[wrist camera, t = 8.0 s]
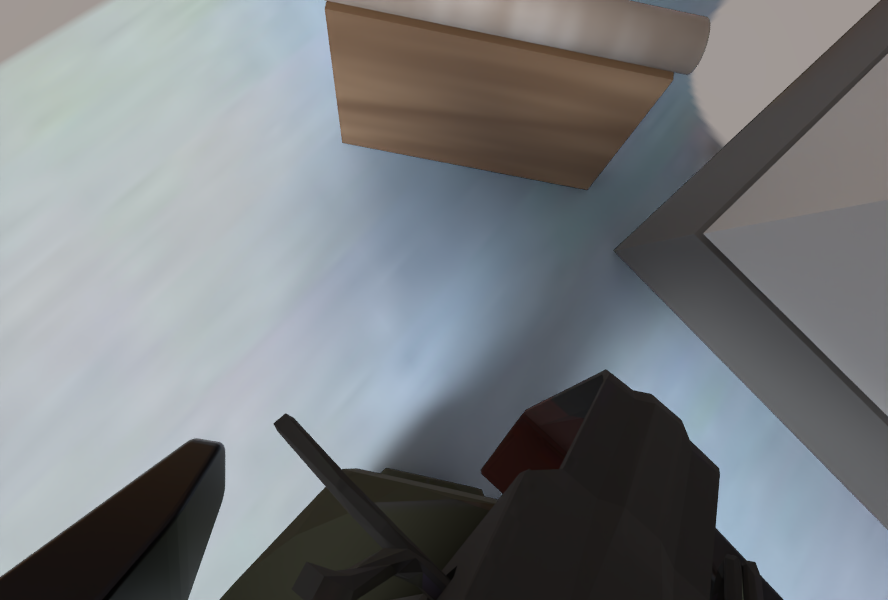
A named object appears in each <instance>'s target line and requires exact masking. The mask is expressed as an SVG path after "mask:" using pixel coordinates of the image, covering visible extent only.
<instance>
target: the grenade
mask: <svg viewBox="0 0 888 600" xmlns="http://www.w3.org/2000/svg"><path fill="white" fill-rule="evenodd" d="M274 425H275V427H276V429H277V431H278V432H279V433H280V435H281V436H282V437H283V438H284V439H285V440H286V441H287V443H288V444H289V445H290V446H291V447H292V448H293V449H294V451H295V452H296V453H297V454H298V455H299V456H300V458H301V459H302V460H303V461H304V462H305V463H306V464H307V466H308V467H309V468H310V469H311V470H312V471H313V472H314V474H315V475H316V476H317V477H318V478H319V479H320V480H321V482H322V483H323V484H324V485H325V486H326V487H325V488H324V489H323V490H322V491H321V492H320V493H319V494H318V495H317V496H316V498H315V499H314V500H313V501H312V502H311V503H310V504H309V505H308V506H307V507H306V508H305V509H304V510H303V511H302V512H301V513H300V514H299V515H298V516H297V518H296V519H295V520H294V521H293V522H292V523H291V524H290V525H289V526H288V527H287V528H286V529H285V530H284V531H283V532H282V533H281V534H280V535H279V537H278V538H277V539H276V540H275V541H274V542H273V543H272V544H271V545H270V546H269V547H268V548H267V549H266V550H265V551H264V552H263V553H262V554H261V556H260V557H259V558H258V559H257V560H256V561H255V562H254V563H253V564H252V565H251V566H250V567H249V568H248V569H247V570H246V571H245V572H244V573H243V574H242V576H241V577H240V578H239V579H238V580H237V581H236V582H235V583H234V584H233V585H232V586H231V587H230V589H229V590H228V591H227V592H226V593H225V594H224V595H223V596H222V597H221V599H220V600H763V590H762V580H761V576H760V574H759V571H758V568H757V565H756V563H755V562H752V561H746V560H744V561H743V562H742V563H741V562H740V561H739V559H738V557H736V556H734V555H730V554H726V556H725V558H724V559H723V561H722V563H721V564H720V566H719V568H718V569H717V574H716V578H715V582H714V586H713V591H712V595H711V599H710V588H711V576H712V564H713V552H714V539H715V527H716V515H717V502H718V490H719V478H720V472H719V468H718V467H717V466H716V465H715V464H714V463H713V462H712V461H711V460H710V459H709V458H708V457H707V456H706V455H705V454H704V453H703V452H702V451H701V450H700V449H699V448H697V447H696V446H695V445H694V444H693V443H692V442H691V441H690V440H689V437H688V435H687V432H686V430H685V427H684V425H683V422H682V420H681V419H680V418H678V417H677V416H676V415H675V414H674V413H673V412H671V411H670V410H669V409H668V408H667V407H666V406H665V405H663V404H662V403H661V402H660V401H659V400H658V399H657V398H655V397H654V396H653V395H652V394H648V393H643V392H638V391H633V390H632V389H630V388H629V387H628V386H627V385H625V384H624V383H623V382H622V381H620V380H619V379H618V378H616V377H615V376H614V375H613V374H611V373H610V372H609V371H608V370H604V371H602V372H600V373H598V374H596V375H594V376H592V377H590V378H588V379H586V380H584V381H582V382H580V383H578V384H576V385H574V386H572V387H570V388H568V389H566V390H564V391H562V392H560V393H558V394H556V395H554V396H552V397H550V398H548V399H546V400H544V401H542V402H540V403H538V404H536V405H534V406H532V407H531V408H529V409H527V410H525V411H524V413H523V414H522V415H521V416H520V418H519V419H518V420H517V422H516V423H515V424H514V426H513V427H512V429H511V430H510V431H509V433H508V434H507V435H506V437H505V438H504V439H503V441H502V442H501V443H500V445H499V446H498V447H497V449H496V450H495V452H494V453H493V454H492V456H491V457H490V458H489V460H488V461H487V462H486V464H485V465H484V466H483V468H482V469H481V474H482V475H483V476H484V477H485V478H487V479H488V480H489V481H490V482H491V483H492V484H493V485H494V486H495V487H496V488H497V489H498V490H499V491H501V492H502V493H503V495H502V496H501V497H500V498H499V500H498V499H493V498H489V497H485V496H484V494H483V492H482V489H478V488H475V487H470V486H466V485H462V484H457V483H453V482H449V481H444V480H440V479H435V478H431V477H426V476H422V475H417V474H413V473H408V472H403V471H399V470H394V469H390V468H385V469H384V470H383V471H382V473H381V474H380V473H375V472H371V471H366V470H361V469H342V470H341V469H340V467H339V466H338V465H337V464H336V463H335V462H334V461H333V460H332V459H331V458H330V457H329V456H328V454H327V453H326V452H325V451H324V450H323V449H322V448H321V447H320V446H319V445H318V444H317V443H316V442H315V440H314V439H313V438H312V437H311V436H310V435H309V434H308V433H307V432H306V431H305V430H304V429H303V427H302V426H301V425H300V424H299V423H298V422H297V421H296V420H295V419H294V418H293V417H291V416H289V415H288V414H286V413H285V414H284V415H283V416H282V417H281V418H280V419H278V420H277V421H276V422H275V423H274Z"/></svg>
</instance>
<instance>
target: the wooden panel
mask: <svg viewBox="0 0 888 600" xmlns="http://www.w3.org/2000/svg"><path fill="white" fill-rule="evenodd" d="M326 1H327V2H326V6H325V14H326V22H327V29H328V37H329V45H330V52H331V60H332V68H333V75H334V83H335V90H336V98H337V106H338V113H339V121H340V128H341V136H342V143H347V144H352V145H357V146H362V147H367V148H372V149H378V150H383V151H388V152H393V153H398V154H404V155H409V156H414V157H419V158H424V159H429V160H435V161H440V162H445V163H450V164H455V165H461V166H466V167H471V168H476V169H481V170H487V171H492V172H497V173H502V174H507V175H512V176H518V177H523V178H528V179H533V180H538V181H544V182H549V183H554V184H559V185H564V186H569V187H575V188H580V189H585V190H588V189H589V187H590V186H591V185H592V183H593V182H594V181H595V180H596V178H597V177H598V176H599V174H600V173H601V172H602V171H603V169H604V168H605V167H606V166H607V164H608V163H609V162H610V160H611V159H612V158H613V157H614V155H615V154H616V153H617V151H618V150H619V149H620V148H621V146H622V145H623V144H624V142H625V141H626V140H627V139H628V137H629V136H630V135H631V134H632V132H633V131H634V130H635V128H636V127H637V126H638V125H639V123H640V122H641V121H642V119H643V118H644V117H645V116H646V114H647V113H648V112H649V110H650V109H651V108H652V107H653V105H654V104H655V103H656V101H657V100H658V99H659V98H660V96H661V95H662V94H663V93H664V91H665V90H666V89H667V87H668V86H669V85H670V84H671V82H672V81H673V76H674V72H676V73H681V74H686V75H688V74H690V73H692V72H693V71H694V69H695V68H696V67H697V65H698V64H699V62H700V60H701V58H702V56H703V53H704V51H705V48H706V45H707V41H708V38H709V33H710V20H709V18H708V17H705V16H700V15H696V14H691V13H686V12H681V11H677V10H672V9H667V8H663V7H658V6H653V5H648V4H644V3H639V2H634V1H629V0H326Z"/></svg>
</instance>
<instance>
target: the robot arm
mask: <svg viewBox="0 0 888 600" xmlns="http://www.w3.org/2000/svg"><path fill="white" fill-rule="evenodd" d="M224 491H225V448H224V445H223V444H222V443H220V442H216V441H210V440H204V439H192V440H189V441H188V442H186V443H185V444H183V445H182V446H181V447H179V448H178V449H177V450H175V451H174V452H172V453H171V454H170V455H168V456H167V457H165V458H164V459H163V460H161V461H160V462H159V463H157V464H156V465H154V466H153V467H152V468H150V469H149V470H148V471H146V472H145V473H143V474H142V475H141V476H139V477H138V478H136V479H135V480H134V481H132V482H131V483H130V484H128V485H127V486H125V487H124V488H123V489H121V490H120V491H119V492H117V493H116V494H114V495H113V496H112V497H110V498H109V499H107V500H106V501H105V502H103V503H102V504H101V505H99V506H98V507H96V508H95V509H94V510H92V511H91V512H89V513H88V514H87V515H85V516H84V517H83V518H81V519H80V520H78V521H77V522H76V523H74V524H73V525H72V526H70V527H69V528H67V529H66V530H65V531H63V532H62V533H60V534H59V535H58V536H56V537H55V538H54V539H52V540H51V541H49V542H48V543H47V544H45V545H44V546H43V547H41V548H40V549H38V550H37V551H36V552H34V553H33V554H31V555H30V556H29V557H27V558H26V559H25V560H23V561H22V562H20V563H19V564H18V565H16V566H15V567H14V568H12V569H11V570H9V571H8V572H7V573H5V574H4V575H2V576H1V577H0V600H188V598H189V595H190V592H191V589H192V586H193V584H194V581H195V578H196V575H197V572H198V569H199V566H200V563H201V561H202V558H203V555H204V552H205V549H206V546H207V543H208V541H209V538H210V535H211V532H212V529H213V526H214V523H215V521H216V518H217V515H218V512H219V509H220V506H221V503H222V500H223V496H224ZM726 554H730V555H734V556H736V557H738V559H739V561H740V562H741V563H742V562H743V561H744V560H746V559H745V558H744V557H743V556H742V555H741V554H740V553H739V552H738V551H737V550H736V549H735V548H734V547H733V546H732V545H731V544H730V542H729V541H728V540H727V539H726V538H725V537H724V536H723V535H722V534H721V533H720V532H719V531H718V530H717V529H716V528H715V539H714V552H713V564H712V576H711V588H710V599H711V595H712V591H713V586H714V582H715V578H716V574H717V569H718V568H719V566H720V564H721V563H722V561H723V559H724V558H725V556H726ZM746 561H747V560H746ZM760 576H761V575H760ZM761 580H762V590H763V600H783V599H782V598H781V597H780V595H779V594H778V593H777V592H776V591H775V590H774V589H773V588H772V587H771V586H770V585H769V584H768V583H767V582H766V581H765V580H764V578H763V577H762V576H761Z"/></svg>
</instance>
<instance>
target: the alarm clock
mask: <svg viewBox="0 0 888 600" xmlns="http://www.w3.org/2000/svg"><path fill="white" fill-rule="evenodd" d="M613 251H614V252H615V253H616V254H617V255H618V256H619V257H620V258H621V259H622V260H623V261H624V262H625V263H626V264H627V265H628V266H629V267H630V268H631V269H632V270H633V271H634V272H635V273H636V274H637V275H638V276H639V277H640V278H641V279H642V280H643V281H644V282H645V283H646V284H647V285H648V286H649V287H650V288H651V290H652V291H653V292H654V293H655V294H656V295H657V296H658V297H659V298H660V299H661V300H662V301H663V302H664V303H665V304H666V305H667V306H668V307H669V308H670V309H671V310H672V311H673V312H674V313H675V314H676V315H677V316H678V317H679V318H680V319H681V320H682V321H683V322H684V323H685V324H686V325H687V326H688V327H689V328H690V329H691V330H692V331H693V332H694V333H695V334H696V335H697V336H698V337H699V338H700V339H701V340H702V341H703V342H704V343H705V344H706V345H707V346H708V347H709V349H710V350H711V351H712V352H713V353H714V354H715V355H716V356H717V357H718V358H719V359H720V360H721V361H722V362H723V363H724V364H725V365H726V366H727V367H728V368H729V369H730V370H731V371H732V372H733V373H734V374H735V375H736V376H737V377H738V378H739V379H740V380H741V381H742V382H743V383H744V384H745V385H746V386H747V387H748V388H749V389H750V390H751V391H752V392H753V393H754V394H755V395H756V396H757V397H758V398H759V399H760V400H761V401H762V402H763V403H764V404H765V405H766V406H767V408H768V409H769V410H770V411H771V412H772V413H773V414H774V415H775V416H776V417H777V418H778V419H779V420H780V421H781V422H782V423H783V424H784V425H785V426H786V427H787V428H788V429H789V430H790V431H791V432H792V433H793V434H794V435H795V436H796V437H797V438H798V439H799V440H800V441H801V442H802V443H803V444H804V445H805V446H806V447H807V448H808V449H809V450H810V451H811V452H812V453H813V454H814V455H815V456H816V457H817V458H818V459H819V460H820V461H821V462H822V463H823V464H824V466H825V467H826V468H827V469H828V470H829V471H830V472H831V473H832V474H833V475H834V476H835V477H836V478H837V479H838V480H839V481H840V482H841V483H842V484H843V485H844V486H845V487H846V488H847V489H848V490H849V491H850V492H851V493H852V494H853V495H854V496H855V497H856V498H857V499H858V500H859V501H860V502H861V503H862V504H863V505H864V506H865V507H866V508H867V509H868V510H869V511H870V512H871V513H872V514H873V515H874V516H875V517H876V518H877V519H878V520H879V521H880V522H881V523H882V525H883V526H884V527H885V528H886V529H887V530H888V0H880V1H879V2H878V3H877V4H876V5H875V6H874V7H873V8H872V9H871V10H869V11H868V13H866V14H865V15H864V16H863V17H862V18H861V19H860V20H859V21H858V22H857V23H856V24H854V25H853V26H852V27H851V28H850V29H849V30H848V31H847V32H846V33H845V34H844V35H843V36H842V37H841V38H839V39H838V40H837V41H836V42H835V43H834V44H833V45H832V46H831V47H830V48H829V49H828V50H827V51H826V52H824V53H823V54H822V55H821V56H820V57H819V58H818V59H817V60H816V61H815V62H814V63H813V64H812V65H811V66H809V68H807V69H806V70H805V71H804V72H803V73H802V74H801V75H800V76H799V77H798V78H797V79H796V80H794V81H793V82H792V83H791V84H790V85H789V86H788V87H787V88H786V89H785V90H784V91H783V92H782V93H780V94H779V95H778V96H777V97H776V98H775V99H774V100H773V101H772V102H771V103H770V104H769V105H768V106H767V107H765V108H764V110H762V111H761V112H760V113H759V114H758V115H757V116H756V117H755V118H754V119H753V120H752V121H750V122H749V123H748V124H747V125H746V126H745V127H744V128H743V129H742V130H741V131H740V132H739V133H738V134H737V135H736V136H734V137H733V138H732V139H731V140H730V141H729V142H728V143H727V144H726V145H725V147H724V148H723V149H722V150H720V151H719V152H718V153H717V154H716V155H715V156H714V157H713V158H712V159H711V160H710V161H709V162H708V163H707V164H705V165H704V166H703V167H702V168H701V169H700V170H699V171H698V172H697V173H696V174H695V175H694V176H693V177H692V178H690V179H689V180H688V181H687V182H686V183H685V184H684V185H683V186H682V187H681V188H680V189H679V190H678V191H677V192H675V193H674V194H673V195H672V196H671V197H670V198H669V199H668V200H667V201H666V202H665V203H664V204H663V205H662V206H660V207H659V208H658V209H657V210H656V211H655V212H654V213H653V214H652V215H651V216H650V217H649V218H648V219H647V220H645V221H644V222H643V223H642V224H641V225H640V226H639V227H638V228H637V229H636V230H635V231H634V232H633V233H632V234H630V235H629V236H628V237H627V238H626V239H625V240H624V241H623V242H622V243H621V244H620V245H619V246H618V247H617V248H615V249H614V250H613Z"/></svg>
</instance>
